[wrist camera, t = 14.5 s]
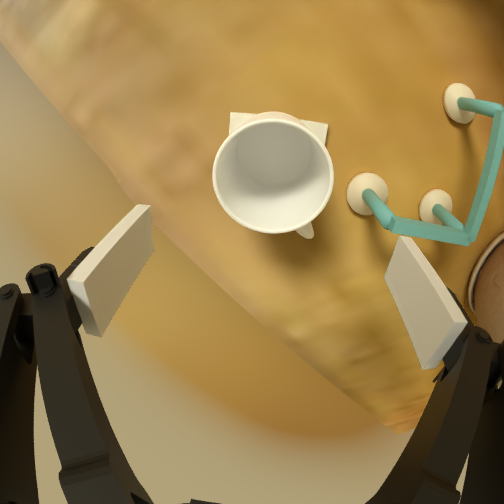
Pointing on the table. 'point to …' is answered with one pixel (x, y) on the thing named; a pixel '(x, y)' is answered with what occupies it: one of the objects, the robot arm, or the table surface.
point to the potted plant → (489, 290)
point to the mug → (273, 175)
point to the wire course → (436, 200)
